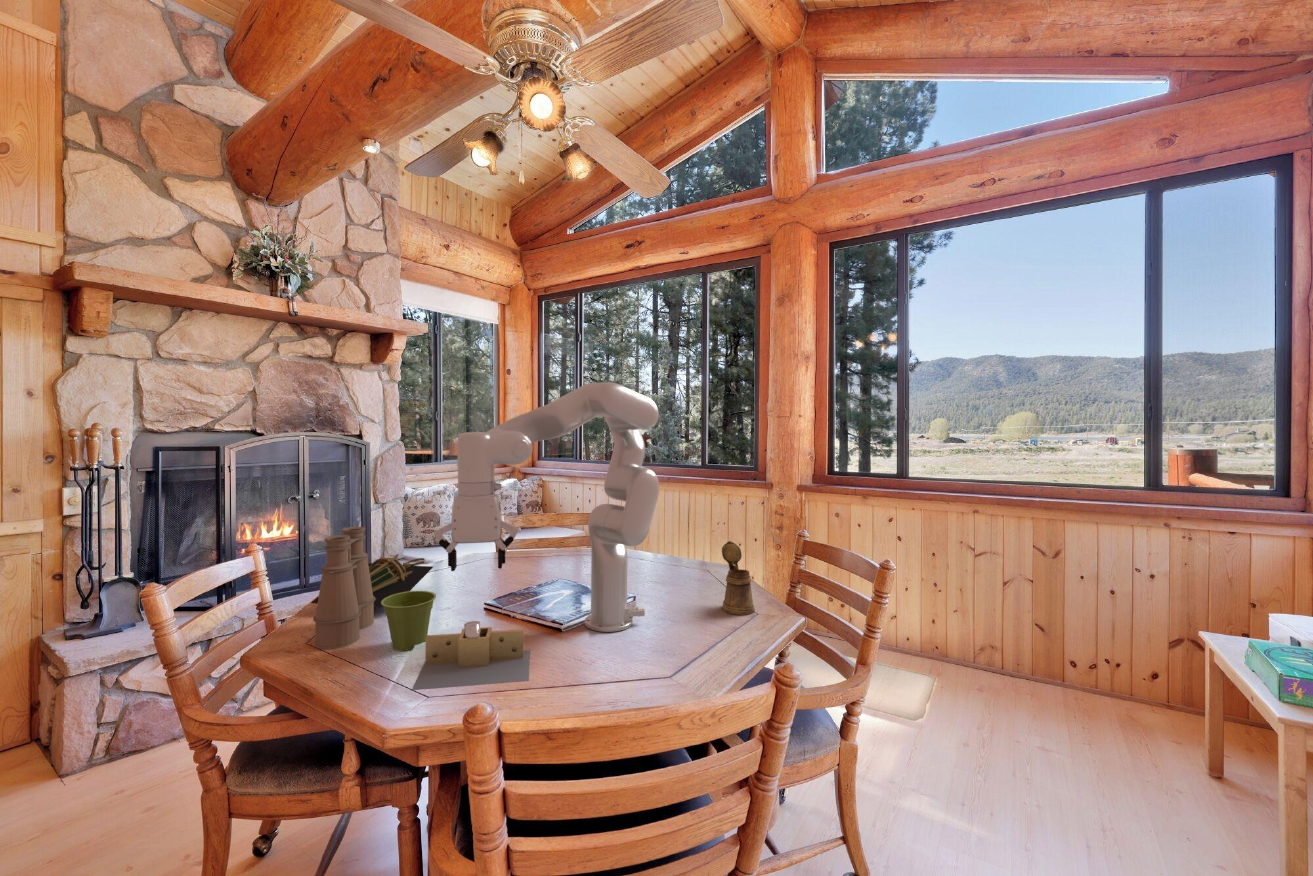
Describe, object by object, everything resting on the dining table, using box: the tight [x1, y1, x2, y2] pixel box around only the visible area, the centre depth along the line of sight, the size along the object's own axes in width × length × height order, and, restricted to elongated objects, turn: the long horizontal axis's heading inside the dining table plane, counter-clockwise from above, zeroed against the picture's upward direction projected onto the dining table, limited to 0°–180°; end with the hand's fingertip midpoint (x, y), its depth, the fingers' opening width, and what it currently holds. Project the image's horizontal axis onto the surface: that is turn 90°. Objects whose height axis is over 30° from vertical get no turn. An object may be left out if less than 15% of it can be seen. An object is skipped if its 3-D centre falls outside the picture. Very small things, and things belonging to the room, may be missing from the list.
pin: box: [463, 620, 481, 638], centre depth 120 cm, size 3×3×8 cm
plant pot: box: [381, 590, 437, 652], centre depth 130 cm, size 12×12×11 cm
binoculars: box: [312, 526, 376, 650], centre depth 137 cm, size 21×10×25 cm, turn 10°
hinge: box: [425, 626, 524, 668], centre depth 120 cm, size 20×6×6 cm, turn 102°
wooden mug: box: [721, 540, 755, 616], centre depth 160 cm, size 9×14×18 cm, turn 11°
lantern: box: [310, 553, 434, 608], centre depth 164 cm, size 14×23×30 cm
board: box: [411, 649, 531, 691], centre depth 116 cm, size 22×15×1 cm
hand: (477, 568), depth 119 cm, fingers open, 9 cm apart
